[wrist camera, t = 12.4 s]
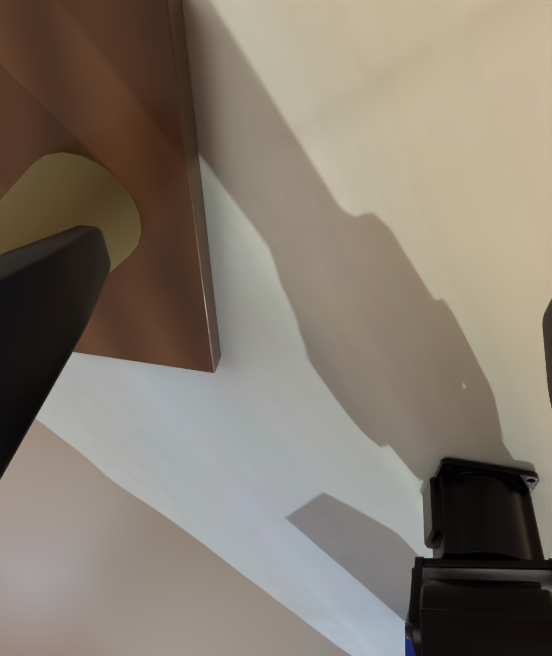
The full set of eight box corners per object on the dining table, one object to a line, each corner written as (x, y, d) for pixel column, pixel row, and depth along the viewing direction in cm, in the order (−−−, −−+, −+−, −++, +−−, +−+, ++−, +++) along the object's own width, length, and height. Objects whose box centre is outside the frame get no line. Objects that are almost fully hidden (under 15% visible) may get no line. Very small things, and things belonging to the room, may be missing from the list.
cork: (165, 227, 23) (42, 398, 15) (97, 279, 27) (-34, 442, 19) (66, 125, 21) (-145, 266, 13) (4, 196, 24) (-195, 344, 16)
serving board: (180, -15, 18) (166, -9, 17) (221, 357, 31) (214, 373, 30) (-97, -23, 19) (-126, -18, 18) (55, 333, 33) (43, 348, 32)
